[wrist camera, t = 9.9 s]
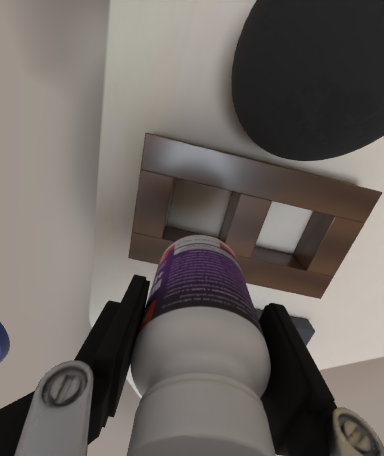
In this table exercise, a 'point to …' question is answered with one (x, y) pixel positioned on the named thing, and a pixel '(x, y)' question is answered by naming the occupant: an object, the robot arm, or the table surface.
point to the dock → (251, 213)
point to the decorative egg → (311, 76)
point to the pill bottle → (200, 359)
